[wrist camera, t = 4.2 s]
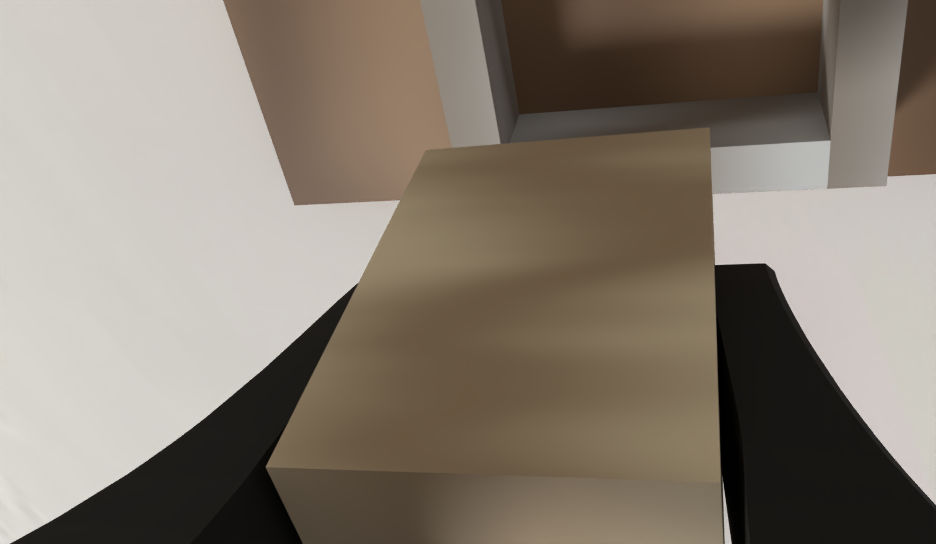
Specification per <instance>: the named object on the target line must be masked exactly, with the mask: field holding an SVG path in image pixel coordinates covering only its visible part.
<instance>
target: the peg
mask: <svg viewBox="0 0 936 544" xmlns="http://www.w3.org/2000/svg"><path fill="white" fill-rule="evenodd" d="M266 469H267V471H268V473H269V475H270V477H271V479H272V481H273V483H274V485H275V487H276V489H277V491H278V494H279V496H280V498H281V500H282V502H283V504H284V506H285V508H286V510H287V512H288V514H289V516H290V518H291V520H292V522H293V524H294V526H295V528H296V530H297V532H298V534H299V537H300V539H301V541H302V543H303V544H725V540H724V509H723V479H722V459H721V433H720V407H719V381H718V355H717V328H716V301H715V252H714V225H713V199H712V172H711V146H710V127H708V128H695V129H683V130H670V131H658V132H645V133H632V134H620V135H607V136H594V137H582V138H569V139H557V140H544V141H531V142H519V143H506V144H493V145H481V146H468V147H456V148H443V149H430V150H426V151H425V153H424V155H423V157H422V159H421V160H420V162H419V164H418V166H417V168H416V170H415V172H414V174H413V176H412V178H411V180H410V182H409V184H408V186H407V188H406V190H405V192H404V194H403V196H402V198H401V200H400V202H399V204H398V206H397V208H396V210H395V212H394V214H393V216H392V218H391V220H390V222H389V224H388V226H387V228H386V230H385V232H384V234H383V236H382V238H381V240H380V242H379V244H378V246H377V248H376V250H375V252H374V254H373V256H372V258H371V260H370V261H369V263H368V265H367V267H366V269H365V271H364V273H363V275H362V277H361V279H360V281H359V283H358V285H357V287H356V289H355V291H354V293H353V295H352V297H351V299H350V301H349V303H348V305H347V307H346V309H345V311H344V313H343V315H342V317H341V319H340V321H339V323H338V325H337V327H336V329H335V331H334V333H333V335H332V337H331V339H330V341H329V343H328V345H327V347H326V349H325V351H324V353H323V355H322V357H321V359H320V360H319V362H318V364H317V366H316V368H315V370H314V372H313V374H312V376H311V378H310V380H309V382H308V384H307V386H306V388H305V390H304V392H303V394H302V396H301V398H300V400H299V402H298V404H297V406H296V408H295V410H294V412H293V414H292V416H291V418H290V420H289V422H288V424H287V426H286V428H285V430H284V432H283V434H282V436H281V438H280V440H279V442H278V444H277V446H276V448H275V450H274V452H273V454H272V456H271V458H270V460H269V461H268V463H267V465H266Z"/></svg>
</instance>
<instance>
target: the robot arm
mask: <svg viewBox="0 0 936 544" xmlns="http://www.w3.org/2000/svg"><path fill="white" fill-rule="evenodd" d="M357 285H358V284H356V285H355V286H354V287H353V288H352V289H351V290H349V291H348V292H347V293H346V294H345V295H344V296H343V297H342V298H341V299H339V300H338V301H337V302H336V303H335V304H334V305H333V306H332V307H331V308H330V309H329V310H328V311H326V312H325V313H324V314H323V315H322V316H321V317H320V318H319V319H318V320H317V321H316V322H315V323H314V324H313V325H311V326H310V327H309V328H308V329H307V330H306V331H305V332H304V333H303V334H302V335H301V336H300V337H298V338H297V339H296V340H295V341H294V342H293V343H292V344H291V345H290V346H289V347H287V348H286V349H285V350H284V351H283V352H282V353H281V354H280V355H279V356H278V357H276V358H275V359H274V360H273V361H272V362H271V363H270V364H269V365H268V366H267V367H265V368H264V369H263V370H262V371H261V372H260V373H259V374H257V375H256V376H255V377H254V378H253V379H251V380H250V381H249V382H248V383H247V384H245V385H244V386H243V387H242V388H241V389H239V390H238V391H237V392H236V393H235V394H233V395H232V396H231V397H230V398H229V399H227V400H226V401H225V402H224V403H223V404H222V405H220V406H219V407H218V408H217V409H216V410H214V411H213V412H212V413H211V414H210V415H208V416H207V417H206V418H205V419H203V420H202V421H201V422H200V423H198V424H197V425H196V426H194V427H193V428H192V429H190V430H189V431H188V432H186V433H185V434H184V435H182V436H181V437H180V438H178V439H177V440H176V441H174V442H173V443H172V444H170V445H169V446H167V447H166V448H165V449H163V450H162V451H160V452H159V453H157V454H156V455H155V456H153V457H152V458H150V459H149V460H148V461H146V462H145V463H143V464H142V465H140V466H139V467H138V468H136V469H135V470H133V471H132V472H130V473H129V474H127V475H126V476H124V477H122V478H121V479H119V480H118V481H116V482H114V483H113V484H111V485H109V486H108V487H106V488H105V489H103V490H101V491H100V492H98V493H96V494H95V495H93V496H92V497H90V498H88V499H87V500H85V501H83V502H82V503H80V504H79V505H77V506H75V507H74V508H72V509H71V510H69V511H67V512H66V513H64V514H62V515H61V516H59V517H57V518H56V519H54V520H52V521H51V522H49V523H47V524H45V525H43V526H42V527H40V528H38V529H36V530H34V531H32V532H31V533H29V534H27V535H25V536H23V537H22V538H20V539H18V540H16V541H14V542H13V543H11V544H303V543H302V541H301V539H300V537H299V534H298V532H297V530H296V528H295V526H294V524H293V522H292V520H291V518H290V516H289V514H288V512H287V510H286V508H285V506H284V504H283V502H282V500H281V498H280V496H279V494H278V491H277V489H276V487H275V485H274V483H273V481H272V479H271V477H270V475H269V473H268V471H267V469H266V465H267V463H268V461H269V460H270V458H271V456H272V454H273V452H274V450H275V448H276V446H277V444H278V442H279V440H280V438H281V436H282V434H283V432H284V430H285V428H286V426H287V424H288V422H289V420H290V418H291V416H292V414H293V412H294V410H295V408H296V406H297V404H298V402H299V400H300V398H301V396H302V394H303V392H304V390H305V388H306V386H307V384H308V382H309V380H310V378H311V376H312V374H313V372H314V370H315V368H316V366H317V364H318V362H319V360H320V359H321V357H322V355H323V353H324V351H325V349H326V347H327V345H328V343H329V341H330V339H331V337H332V335H333V333H334V331H335V329H336V327H337V325H338V323H339V321H340V319H341V317H342V315H343V313H344V311H345V309H346V307H347V305H348V303H349V301H350V299H351V297H352V295H353V293H354V291H355V289H356V287H357ZM715 301H716V328H717V355H718V381H719V407H720V433H721V459H722V476H723V484H724V491H725V498H726V505H727V513H728V520H729V527H730V534H731V541H732V544H936V505H935V504H934V503H933V502H932V501H931V499H930V498H929V497H928V496H927V495H926V494H925V493H924V492H923V491H922V490H921V488H920V487H919V486H918V485H917V484H916V483H915V482H914V481H913V480H912V479H911V477H910V476H909V475H908V474H907V473H906V472H905V471H904V470H903V468H902V467H901V466H900V465H899V464H898V463H897V461H896V460H895V459H894V458H893V457H892V455H891V454H890V453H889V452H888V451H887V449H886V448H885V447H884V446H883V444H882V443H881V442H880V441H879V440H878V438H877V437H876V436H875V435H874V433H873V432H872V431H871V429H870V428H869V427H868V425H867V424H866V423H865V422H864V420H863V419H862V418H861V416H860V415H859V414H858V413H857V411H856V410H855V409H854V407H853V406H852V405H851V403H850V402H849V400H848V399H847V398H846V396H845V395H844V393H843V392H842V391H841V389H840V388H839V386H838V385H837V383H836V382H835V380H834V379H833V377H832V376H831V374H830V373H829V371H828V370H827V368H826V367H825V365H824V364H823V362H822V361H821V359H820V358H819V356H818V355H817V353H816V352H815V350H814V349H813V347H812V345H811V344H810V342H809V341H808V339H807V337H806V336H805V334H804V332H803V330H802V329H801V327H800V325H799V323H798V321H797V320H796V318H795V316H794V314H793V312H792V311H791V309H790V307H789V305H788V303H787V301H786V299H785V297H784V294H783V292H782V290H781V288H780V285H779V283H778V280H777V278H776V275H775V271H774V270H772V269H771V268H770V267H769V266H768V265H766V264H735V265H715Z"/></svg>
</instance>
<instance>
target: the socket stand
mask: <svg viewBox="0 0 936 544" xmlns="http://www.w3.org/2000/svg"><path fill="white" fill-rule="evenodd" d="M223 1H224V4H225V7H226V10H227V13H228V16H229V18H230V21H231V24H232V27H233V30H234V33H235V36H236V38H237V41H238V44H239V47H240V50H241V53H242V56H243V59H244V61H245V64H246V67H247V70H248V73H249V76H250V79H251V82H252V84H253V87H254V90H255V93H256V96H257V99H258V102H259V105H260V107H261V110H262V113H263V116H264V119H265V122H266V125H267V127H268V130H269V133H270V136H271V139H272V142H273V145H274V148H275V150H276V153H277V156H278V159H279V162H280V165H281V168H282V171H283V173H284V176H285V179H286V182H287V185H288V188H289V191H290V193H291V196H292V199H293V202H294V205H308V204H329V203H349V202H370V201H391V200H401V198H402V196H403V194H404V192H405V190H406V188H407V186H408V184H409V182H410V180H411V178H412V176H413V174H414V172H415V170H416V168H417V166H418V164H419V162H420V160H421V159H422V157H423V155H424V153H425V151H426V150H430V149H443V148H456V147H468V146H481V145H493V144H506V143H519V142H531V141H544V140H557V139H569V138H582V137H594V136H607V135H620V134H632V133H645V132H658V131H670V130H683V129H695V128H708V127H710V146H711V172H712V194H721V193H743V192H764V191H786V190H808V189H830V188H852V187H873V186H886V185H887V176H904V175H925V174H936V0H223Z"/></svg>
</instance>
